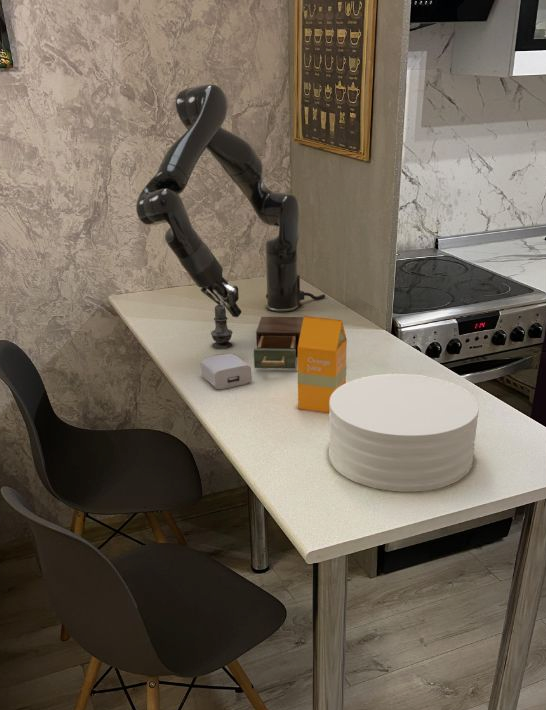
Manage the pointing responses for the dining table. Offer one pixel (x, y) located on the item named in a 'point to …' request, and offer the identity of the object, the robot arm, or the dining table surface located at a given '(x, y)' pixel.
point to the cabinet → (280, 327)
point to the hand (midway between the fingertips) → (237, 314)
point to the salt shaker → (221, 329)
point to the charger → (225, 371)
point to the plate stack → (402, 431)
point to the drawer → (275, 352)
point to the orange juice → (320, 362)
